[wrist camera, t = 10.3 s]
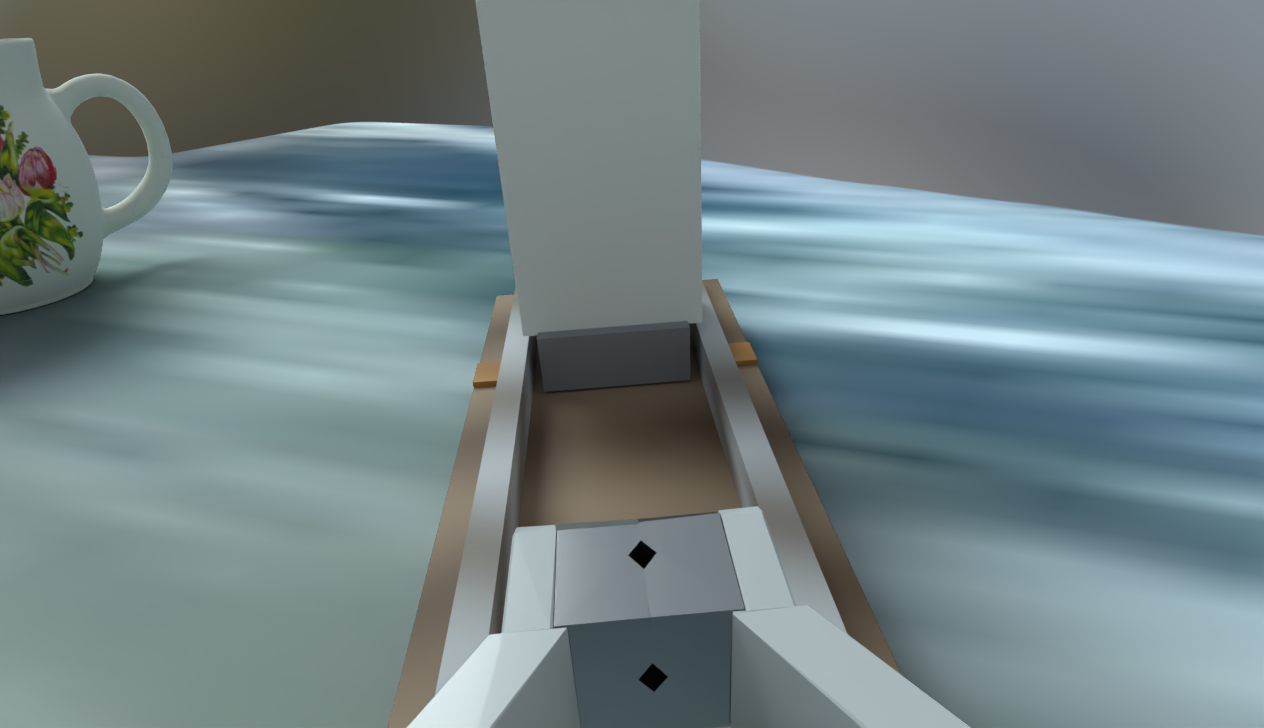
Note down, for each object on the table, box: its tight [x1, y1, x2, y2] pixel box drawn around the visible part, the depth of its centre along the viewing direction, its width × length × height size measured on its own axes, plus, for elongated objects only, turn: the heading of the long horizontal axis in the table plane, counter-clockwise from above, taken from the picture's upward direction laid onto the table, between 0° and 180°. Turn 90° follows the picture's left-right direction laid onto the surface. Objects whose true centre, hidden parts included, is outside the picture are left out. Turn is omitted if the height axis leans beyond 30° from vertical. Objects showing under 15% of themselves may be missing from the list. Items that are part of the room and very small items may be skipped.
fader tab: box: [476, 0, 702, 392], centre depth 23 cm, size 4×6×12 cm, turn 94°
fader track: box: [388, 279, 901, 728], centre depth 22 cm, size 25×10×4 cm, turn 4°
